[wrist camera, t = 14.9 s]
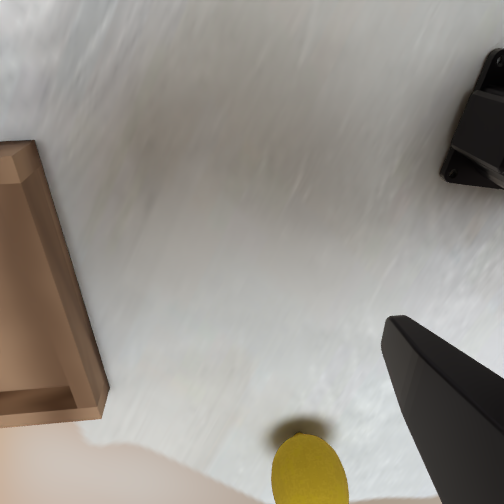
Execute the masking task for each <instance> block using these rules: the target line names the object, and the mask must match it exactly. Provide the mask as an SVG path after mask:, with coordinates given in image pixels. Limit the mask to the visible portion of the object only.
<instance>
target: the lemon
mask: <svg viewBox="0 0 504 504" xmlns="http://www.w3.org/2000/svg"><path fill="white" fill-rule="evenodd" d="M271 483H272V491H273V496H274V499H275V503H276V504H349V492H348V483H347V478H346V474H345V471H344V468H343V466H342V464H341V461H340V459H339V457H338V455H337V454H336V452H335V451H334V449H333V448H332V447H331V446H330V445H329V444H328V443H327V442H326V441H324V440H323V439H321V438H319V437H317V436H314V435H309V434H303V433H301V432H298V433H296V434H295V435H294V436H293V437H291V438H289V439H288V440H286V441H285V442H284V443H283V444H282V445H281V446H280V447H279V449H278V451H277V453H276V455H275V457H274V460H273V464H272V474H271Z"/></svg>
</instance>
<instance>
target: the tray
mask: <svg viewBox="0 0 504 504" xmlns="http://www.w3.org/2000/svg"><path fill="white" fill-rule="evenodd" d="M109 388H110V387H109V384H108V381H107V377H106V374H105V371H104V367H103V364H102V361H101V358H100V354H99V351H98V348H97V344H96V341H95V338H94V335H93V331H92V328H91V325H90V321H89V318H88V315H87V312H86V308H85V305H84V302H83V298H82V295H81V292H80V289H79V285H78V282H77V279H76V275H75V272H74V269H73V266H72V262H71V259H70V256H69V252H68V249H67V246H66V243H65V239H64V236H63V233H62V229H61V226H60V223H59V220H58V216H57V213H56V210H55V206H54V203H53V200H52V197H51V193H50V190H49V187H48V183H47V180H46V177H45V174H44V170H43V167H42V164H41V160H40V157H39V154H38V151H37V147H36V144H35V141H34V140H26V141H2V142H0V428H7V427H18V426H29V425H40V424H50V423H61V422H73V421H84V420H95V419H101V418H102V415H103V411H104V407H105V403H106V400H107V396H108V392H109Z"/></svg>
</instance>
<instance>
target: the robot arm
mask: <svg viewBox="0 0 504 504" xmlns="http://www.w3.org/2000/svg"><path fill="white" fill-rule="evenodd" d="M501 55H502V61H501V62H500V64H499V65H497V59H498V58H499V57H500V56H501ZM451 144H452V145H451V147H450V150H449V152H448V155H447V157H446V159H445V162H444V164H443V167H442V169H441V173H440V175H441V177H442V179H444V180H445V181H446V182H449V183H456V184H464V185H472V186H480V187H488V188H496V189H503V190H504V48H498V49H495V50H493V51H492V52H491V53H490V55H489V56H488V58H487V60H486V63H485V65H484V68H483V70H482V72H481V75H480V77H479V80H478V82H477V84H476V87H475V89H474V92H473V94H471V96H470V98H469V101H468V103H467V105H466V108H465V110H464V113H463V115H462V118H461V120H460V122H459V125H458V127H457V130H456V132H455V135H454V137H453V139H452V142H451ZM453 169H454V172H453V174H451V175H450V176H449V172H450V171H451V170H453ZM381 350H382V354H383V357H384V360H385V363H386V366H387V369H388V372H389V375H390V379H391V382H392V385H393V388H394V391H395V394H396V397H397V400H398V403H399V406H400V409H401V412H402V414H403V417H404V419H405V422H406V424H407V426H408V428H409V431H410V433H411V435H412V437H413V439H414V442H415V444H416V446H417V448H418V451H419V453H420V455H421V457H422V459H423V462H424V464H425V466H426V468H427V471H428V473H429V475H430V477H431V480H432V482H433V484H434V486H435V488H436V491H437V493H438V495H439V497H440V499H441V502H442V504H504V379H503V378H502V377H500V376H499V375H497V374H496V373H494V372H493V371H491V370H490V369H488V368H487V367H485V366H483V365H482V364H480V363H479V362H477V361H476V360H474V359H473V358H471V357H470V356H468V355H466V354H465V353H463V352H462V351H460V350H459V349H457V348H456V347H454V346H453V345H451V344H449V343H448V342H446V341H445V340H443V339H442V338H440V337H439V336H437V335H436V334H434V333H433V332H431V331H429V330H428V329H426V328H425V327H423V326H422V325H420V324H419V323H417V322H416V321H414V320H412V319H411V318H409V317H408V316H405V315H398V316H389V317H388V318H387V319H386V322H385V326H384V331H383V336H382V341H381Z"/></svg>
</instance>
